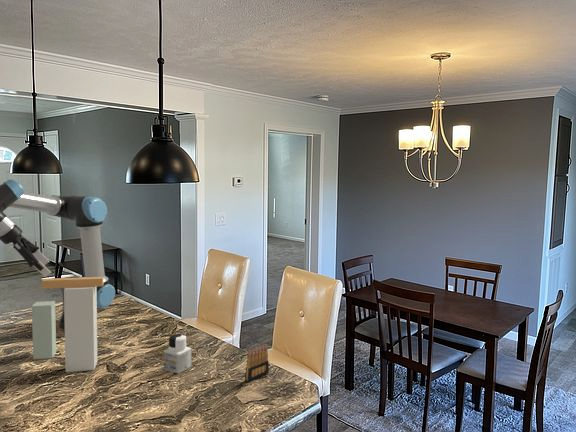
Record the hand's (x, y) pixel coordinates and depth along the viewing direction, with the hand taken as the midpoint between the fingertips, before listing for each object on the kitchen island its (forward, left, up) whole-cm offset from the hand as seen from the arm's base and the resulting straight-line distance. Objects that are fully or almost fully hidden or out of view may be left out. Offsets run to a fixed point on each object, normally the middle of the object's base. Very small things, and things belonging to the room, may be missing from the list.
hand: (47, 268), depth 175 cm
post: (+13, +14, -37) cm, 41 cm away
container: (+22, +50, -37) cm, 66 cm away
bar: (+13, +12, -5) cm, 18 cm away
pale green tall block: (-1, -2, -37) cm, 37 cm away
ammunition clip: (+36, +79, -37) cm, 95 cm away
